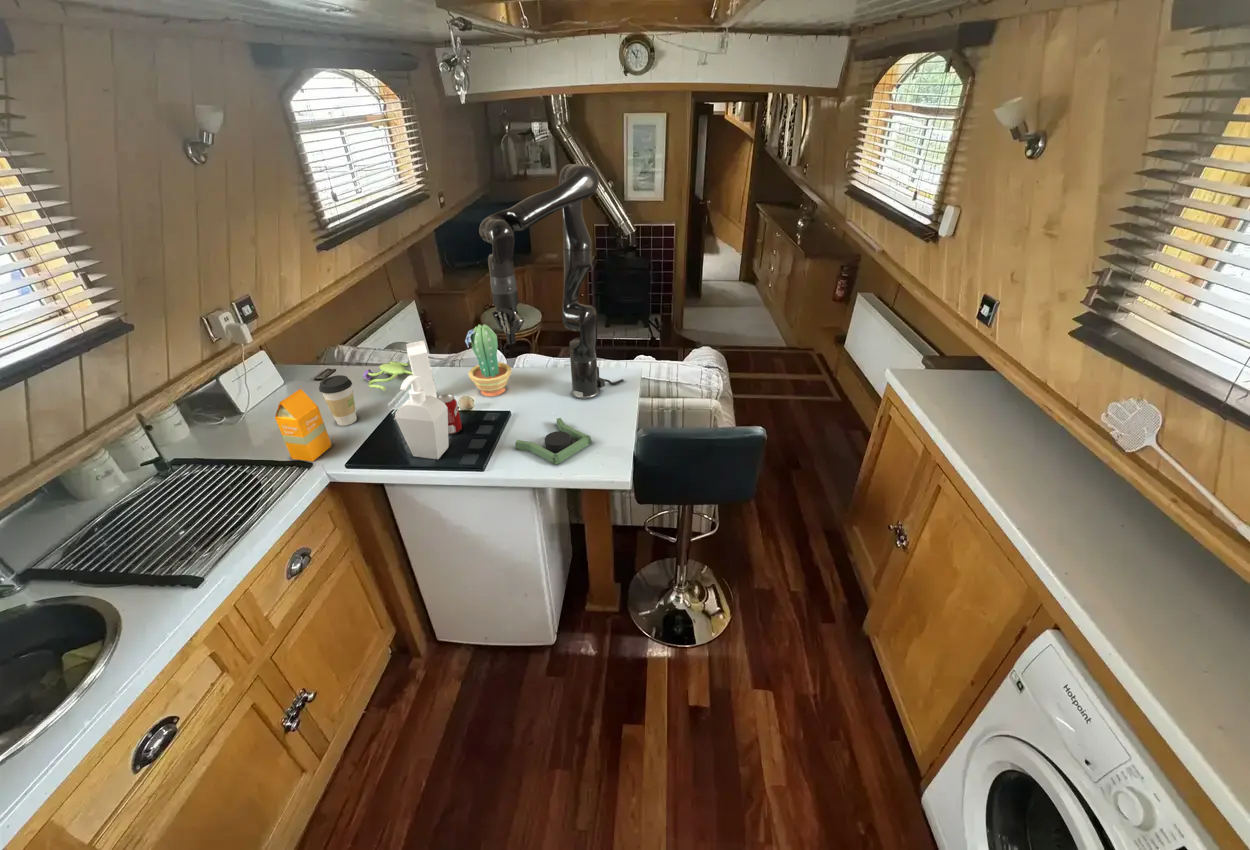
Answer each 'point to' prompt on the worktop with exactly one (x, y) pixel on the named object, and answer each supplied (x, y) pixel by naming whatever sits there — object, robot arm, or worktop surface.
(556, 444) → the puck
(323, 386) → the coffee cup
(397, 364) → the figurine
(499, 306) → the robot arm
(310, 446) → the orange juice
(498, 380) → the potted cactus
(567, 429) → the frame
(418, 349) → the milk
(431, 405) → the soap bottle
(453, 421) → the soda can
